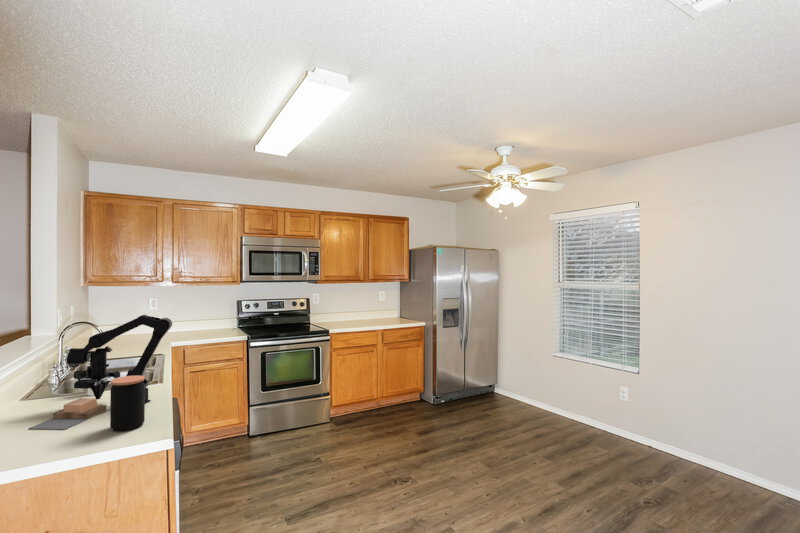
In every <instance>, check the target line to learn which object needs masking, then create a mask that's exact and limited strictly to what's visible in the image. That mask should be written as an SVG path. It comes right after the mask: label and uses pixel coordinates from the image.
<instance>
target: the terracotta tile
mask: <svg viewBox="0 0 800 533" xmlns="http://www.w3.org/2000/svg"><path fill="white" fill-rule="evenodd" d="M97 405H98V404H97V399H96V398H91V397H90V398H86V397H85V398H82V397H81V398H78V399H75V400H72V401H70V402H68V403H65V404H63V409H64V412H78V413H81V412H83V411H85V410H88V409H90V408H92V407H95V406H97Z"/></svg>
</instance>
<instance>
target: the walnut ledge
mask: <svg viewBox="0 0 800 533" xmlns="http://www.w3.org/2000/svg"><path fill="white" fill-rule="evenodd" d="M105 411H106V412H107V404H97V406H95V407H92V408H90V409H88V410H85V411H83V412H81V413H78V412H64V408H61V409H59V410H56V411H53V412H52V418H62V419H87V420H86V421H88V420H89V419H92V418H94V417H97V416H98V415H101V414H103V413H105Z"/></svg>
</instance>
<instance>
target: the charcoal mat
mask: <svg viewBox="0 0 800 533" xmlns="http://www.w3.org/2000/svg"><path fill="white" fill-rule="evenodd" d="M85 421H88V420H87V419H62V418H53V417H52V418H50V419H48V420H45V421H43V422H41V423H38V424H35V425H33V426H31V427H29V428H28V430H37V431H38V430H47V431H48V430H49V431H53V430H54V431H66V430H68V429H71V428H72V427H74V426H77V425H79V424H81V423H83V422H85Z"/></svg>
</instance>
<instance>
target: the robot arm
mask: <svg viewBox="0 0 800 533" xmlns="http://www.w3.org/2000/svg"><path fill="white" fill-rule="evenodd" d="M140 326H146V327H149V328H152V329H153V331H152V336H151V338H150V340H149V342H148V343H147V345H146V347H145V349H144V351H143V353H142V355H141V356H140V358H139V360H138V362H137V363H136V366H131V367H130V368H129V369H128V371H127V373H126V375H125V376H135V375H138V376H144V377H145V374H146V370H147V366H148V365H149V363H150V361H151V359H152V358H153V356H154V354H155V352H156V350H157V348H158V347H159V344H160V342H161V341H162V340H163V338H164V336H165V335H167V333H168V332H169V331H170V329H171V328H172V327H173V322H172V319H170V318H168V317H163V318H160V317H157V316H152V315H151V316H150V315H147V314H143V315H140V316H138V317H136V318H134V319H132V320H130V321H128V322H125V323H124V324H121V325H119V326H117V327H114V328H112V329H109V330H105V331H102V332H98V333H96V334H93V335H92V336H90V337H89V338H88V343H87V344H86V345H85V346H84V347H80V348H78V347H77V348H76V347H72V348H70V349H69V351H68V353H67V357H66V364H67V365H69V366H72V365H85V364H86V368H87V370H80V369H78V370H76V371H73V375H72V376H73V378H74V380H76V381H75V382H74V383H73V388H74V389H83V390H84V389H87V390H88V388H91V389H92V391H93V393H94V396H93V397H95V398H94V399H97V400H98V401H99V400H101V399H102V396H103V395H104V392H105V390H106V389H107V387H108V385H109V384H111V381H112V380H108V379H110V378H114V379H116V378H120V377H121V372H120V371H119V370H107V368H108V367H110V364H109V363H108V362H107V360H108V359H107V358H108V357H107V354H108V353H111V352H112V351H113V348H111V347H110V346H109V345H107V344H108V343H110V342H111V341H112V340H115V339H116V338H117V337H119V336H120V335H123V334H125V333H128V332H129V331H131V330H134V329H136V328H138V327H140ZM105 345H107V346H105ZM103 346H105V347H103ZM102 347H103V348H102ZM93 349H95V350H93ZM88 362H90V366H87V363H88ZM143 382H144V383H145V404H147V403H149V402H151V399H149V388H148V386H149V384H150V382H149V380H147V378H145V379H144V381H143Z"/></svg>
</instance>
